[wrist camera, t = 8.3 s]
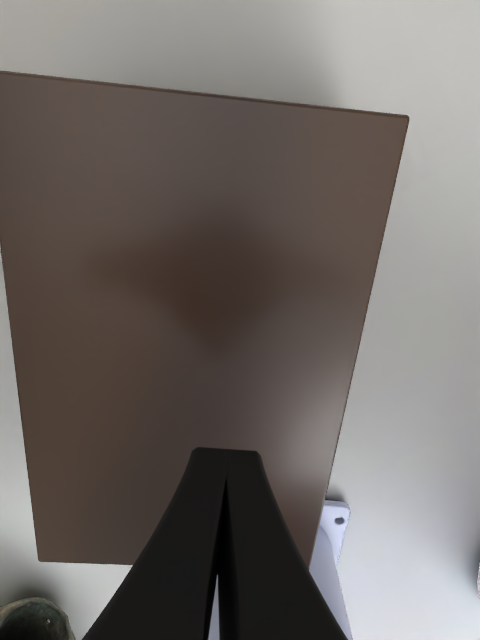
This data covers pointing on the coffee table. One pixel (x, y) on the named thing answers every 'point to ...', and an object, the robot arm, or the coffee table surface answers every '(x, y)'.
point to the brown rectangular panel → (182, 294)
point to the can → (478, 582)
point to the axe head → (34, 621)
